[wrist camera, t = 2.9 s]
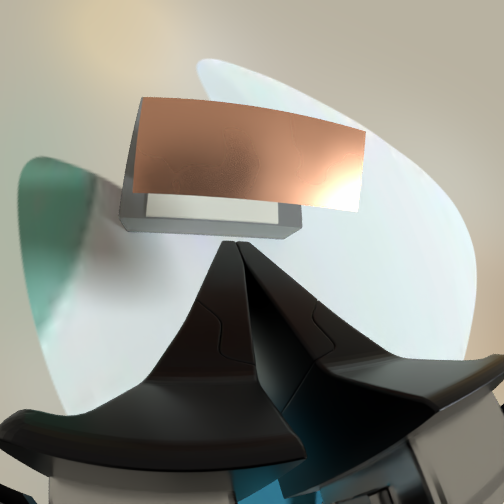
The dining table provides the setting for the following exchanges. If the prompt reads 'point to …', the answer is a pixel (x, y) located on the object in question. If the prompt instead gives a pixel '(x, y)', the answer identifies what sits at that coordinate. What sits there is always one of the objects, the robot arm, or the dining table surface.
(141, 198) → the breaker housing
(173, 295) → the dining table surface
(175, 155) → the toggle lever
